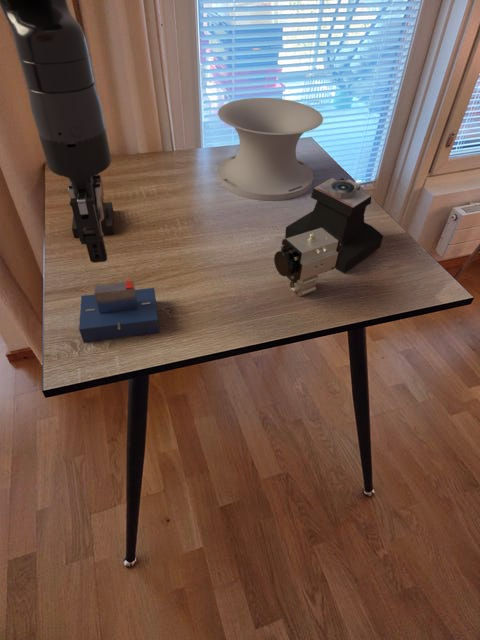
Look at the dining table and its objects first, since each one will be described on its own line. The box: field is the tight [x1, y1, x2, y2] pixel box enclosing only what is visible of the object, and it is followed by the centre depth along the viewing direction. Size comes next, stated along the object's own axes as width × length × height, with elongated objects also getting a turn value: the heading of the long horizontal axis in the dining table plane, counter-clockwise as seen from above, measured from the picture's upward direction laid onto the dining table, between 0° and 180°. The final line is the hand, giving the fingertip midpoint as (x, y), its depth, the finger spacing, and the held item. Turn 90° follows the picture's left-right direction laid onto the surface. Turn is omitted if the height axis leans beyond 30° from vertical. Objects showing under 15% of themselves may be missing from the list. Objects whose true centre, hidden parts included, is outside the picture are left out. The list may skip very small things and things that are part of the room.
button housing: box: [71, 201, 115, 239], centre depth 89 cm, size 8×10×4 cm
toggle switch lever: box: [93, 280, 138, 313], centre depth 66 cm, size 6×2×4 cm, turn 103°
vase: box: [217, 97, 324, 202], centre depth 104 cm, size 25×25×16 cm
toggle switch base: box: [78, 287, 161, 343], centre depth 69 cm, size 12×10×3 cm
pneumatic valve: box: [273, 227, 343, 297], centre depth 73 cm, size 6×12×12 cm, turn 120°
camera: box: [284, 177, 384, 274], centre depth 84 cm, size 16×14×15 cm
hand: (99, 243), depth 60 cm, fingers open, 8 cm apart
